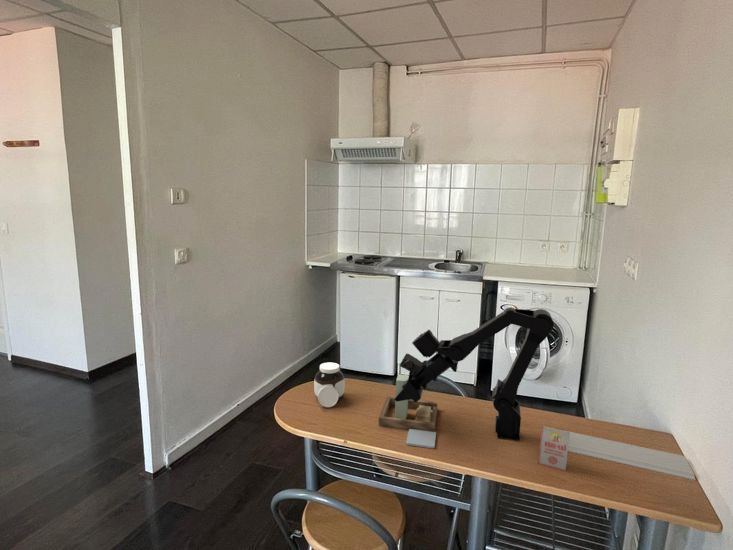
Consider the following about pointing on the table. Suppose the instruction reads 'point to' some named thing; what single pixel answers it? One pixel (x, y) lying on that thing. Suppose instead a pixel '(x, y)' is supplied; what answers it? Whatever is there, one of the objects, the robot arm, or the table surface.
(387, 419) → the brown wooden frame
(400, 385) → the tall mint carton
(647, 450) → the baseboard molding
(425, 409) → the offcut stack
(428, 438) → the tile
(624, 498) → the table surface
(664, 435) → the table surface
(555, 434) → the red lettered carton
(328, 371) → the spread jar
